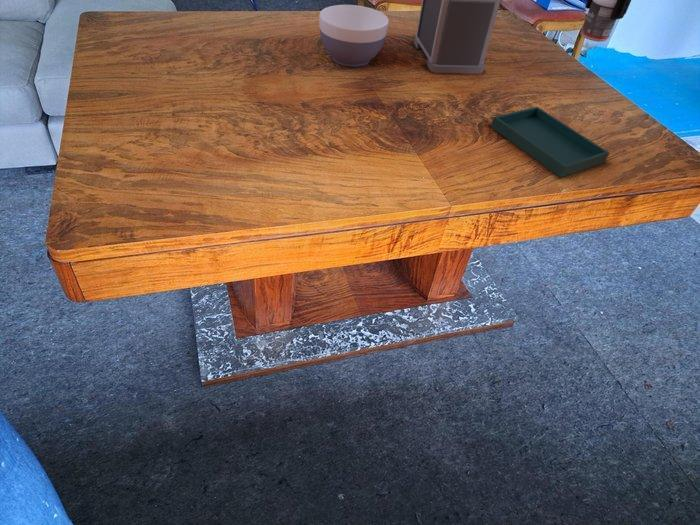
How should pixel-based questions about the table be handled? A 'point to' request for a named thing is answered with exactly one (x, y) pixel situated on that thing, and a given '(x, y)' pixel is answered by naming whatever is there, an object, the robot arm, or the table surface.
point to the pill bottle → (599, 20)
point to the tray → (549, 141)
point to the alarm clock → (456, 34)
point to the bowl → (352, 33)
